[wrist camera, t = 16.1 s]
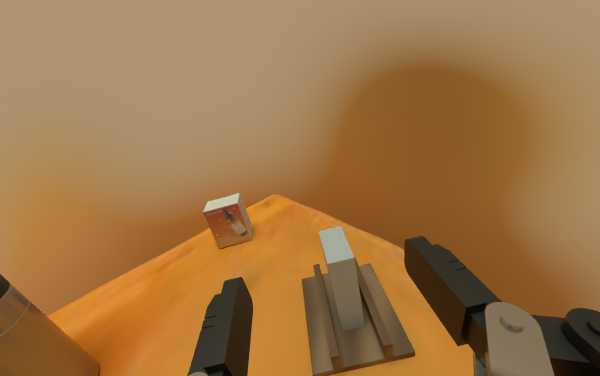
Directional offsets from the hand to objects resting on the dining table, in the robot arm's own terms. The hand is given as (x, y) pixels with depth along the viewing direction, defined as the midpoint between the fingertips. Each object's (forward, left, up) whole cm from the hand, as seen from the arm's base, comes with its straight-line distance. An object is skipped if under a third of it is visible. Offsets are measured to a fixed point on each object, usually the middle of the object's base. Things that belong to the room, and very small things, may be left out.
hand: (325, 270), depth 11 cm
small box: (-19, +38, -23) cm, 48 cm away
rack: (+2, +13, -23) cm, 26 cm away
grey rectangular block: (+2, +13, -22) cm, 26 cm away
